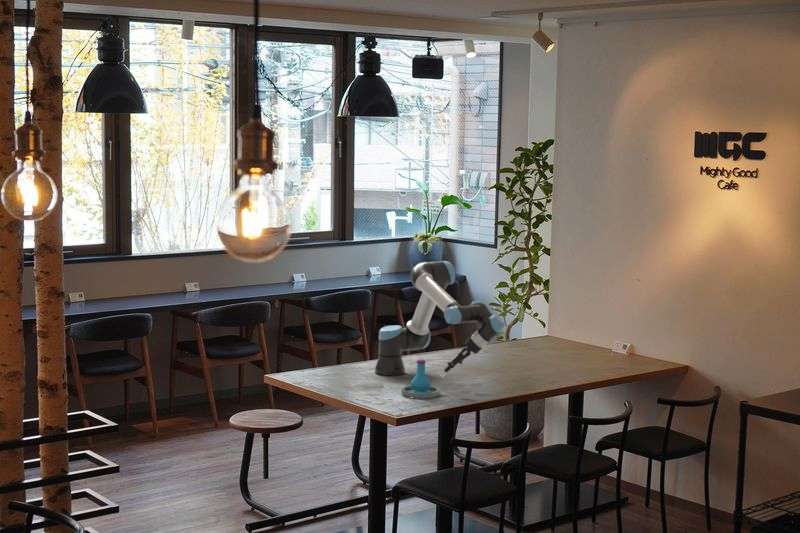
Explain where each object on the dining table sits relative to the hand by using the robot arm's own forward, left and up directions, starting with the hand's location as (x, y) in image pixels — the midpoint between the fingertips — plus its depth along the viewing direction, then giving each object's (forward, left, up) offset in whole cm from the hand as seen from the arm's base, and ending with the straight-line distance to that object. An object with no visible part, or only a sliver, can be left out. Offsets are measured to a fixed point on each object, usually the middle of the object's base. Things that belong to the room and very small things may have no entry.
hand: (444, 373), depth 472 cm
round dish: (-11, -1, -10) cm, 15 cm away
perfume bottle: (-11, -1, -10) cm, 14 cm away
